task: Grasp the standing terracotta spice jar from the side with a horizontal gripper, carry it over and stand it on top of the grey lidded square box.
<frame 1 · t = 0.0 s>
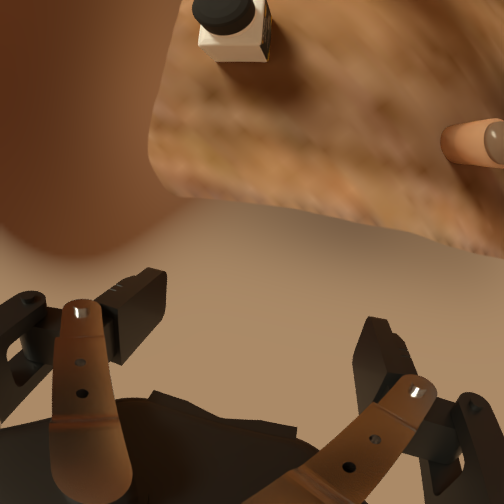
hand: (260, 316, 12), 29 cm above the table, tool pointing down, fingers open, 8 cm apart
medicine bottle: (244, 39, 34), on the table
jar: (456, 144, 33), on the table
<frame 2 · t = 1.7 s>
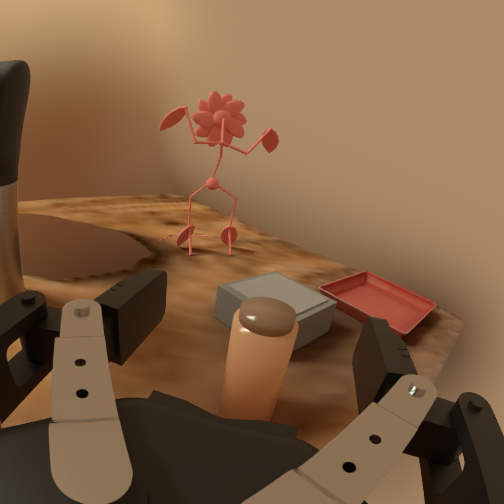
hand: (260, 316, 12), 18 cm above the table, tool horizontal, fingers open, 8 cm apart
plant saucer: (377, 312, 55), on the table
figurine: (202, 245, 73), on the table
grey lidded square box: (272, 324, 45), on the table
jar: (245, 412, 28), on the table
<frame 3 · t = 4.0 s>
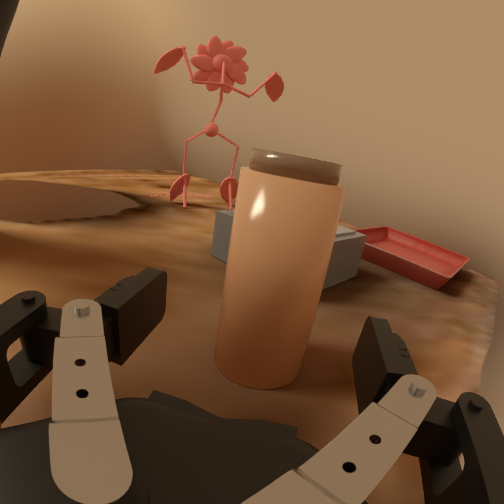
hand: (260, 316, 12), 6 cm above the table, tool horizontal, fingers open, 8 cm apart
plant saucer: (405, 266, 45), on the table
figurine: (198, 202, 64), on the table
grey lidded square box: (286, 265, 35), on the table
jar: (257, 360, 19), on the table
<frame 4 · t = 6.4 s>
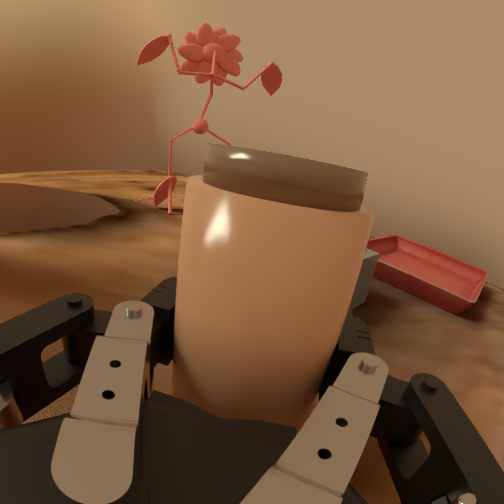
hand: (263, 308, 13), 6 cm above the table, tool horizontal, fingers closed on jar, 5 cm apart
plant saucer: (419, 283, 39), on the table
figurine: (187, 207, 57), on the table
grey lidded square box: (281, 290, 29), on the table
jar: (231, 446, 12), on the table, touching gripper
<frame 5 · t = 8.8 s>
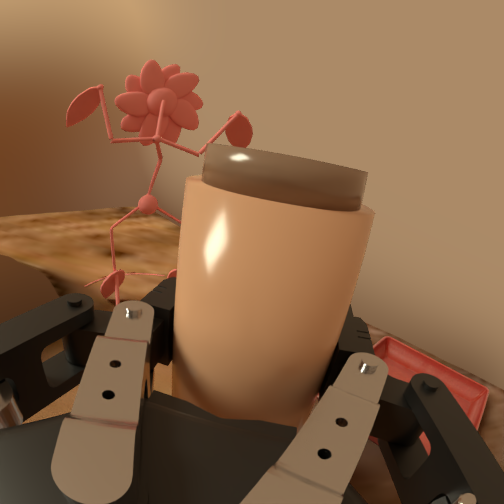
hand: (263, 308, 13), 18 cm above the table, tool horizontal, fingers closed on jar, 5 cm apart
plant saucer: (405, 414, 30), on the table
figurine: (143, 294, 48), on the table
jar: (231, 447, 12), point 12 cm above the table, touching gripper
when the fingers open (12 cm above the table, at t = 11.1 s): jar stays where it is, resting on grey lidded square box.
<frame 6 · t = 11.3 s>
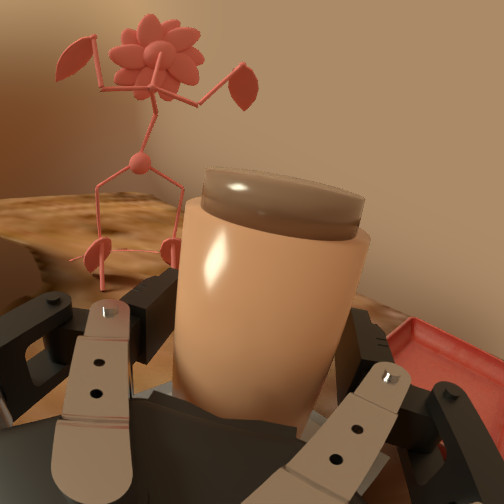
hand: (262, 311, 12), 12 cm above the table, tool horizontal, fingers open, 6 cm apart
plant saucer: (440, 405, 24), on the table
figurine: (134, 269, 42), on the table
grey lidded square box: (219, 498, 14), on the table
jar: (229, 455, 12), point 5 cm above the table, touching grey lidded square box
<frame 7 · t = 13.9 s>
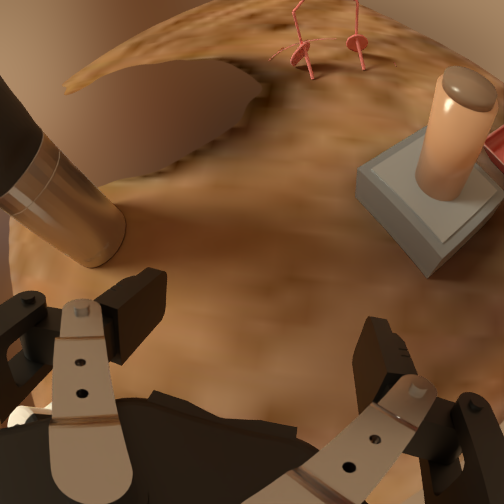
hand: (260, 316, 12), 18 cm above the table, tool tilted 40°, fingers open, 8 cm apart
figurine: (324, 57, 47), on the table
grey lidded square box: (427, 207, 31), on the table
medicine bottle: (100, 436, 28), on the table
jar: (439, 179, 26), point 5 cm above the table, touching grey lidded square box
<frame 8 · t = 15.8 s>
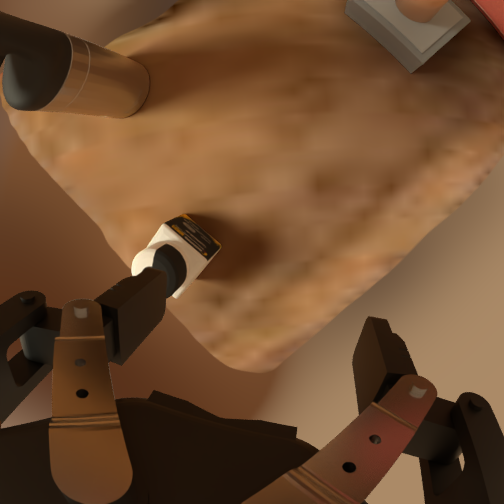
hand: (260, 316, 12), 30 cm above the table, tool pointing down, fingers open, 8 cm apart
grey lidded square box: (404, 20, 30), on the table
medicine bottle: (190, 246, 45), on the table
jar: (414, 5, 25), point 5 cm above the table, touching grey lidded square box
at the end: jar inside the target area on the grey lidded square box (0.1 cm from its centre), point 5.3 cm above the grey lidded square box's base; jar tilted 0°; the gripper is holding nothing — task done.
